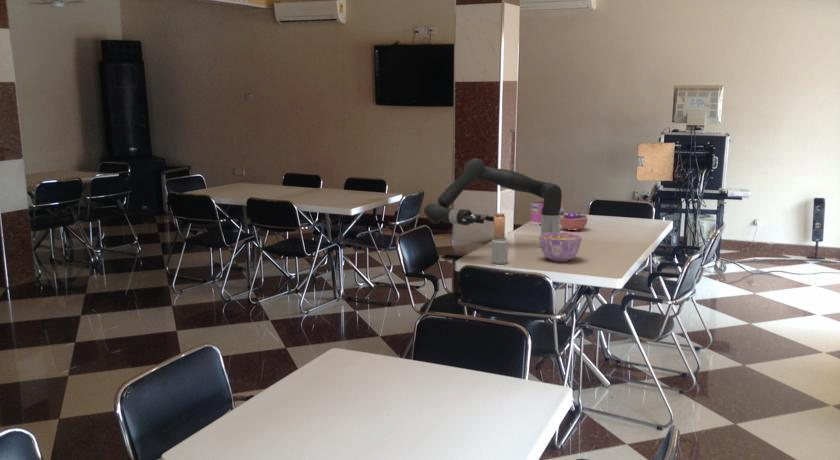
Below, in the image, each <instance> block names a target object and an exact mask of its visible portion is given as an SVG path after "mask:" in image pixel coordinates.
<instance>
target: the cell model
mask: <svg viewBox="0 0 840 460" xmlns="http://www.w3.org/2000/svg"><path fill="white" fill-rule="evenodd" d="M559 219H560V221H559V226H560V227H562V228H563V229H564V228H565V230H567V229H569V230H574V229H580V230H582V229H584V228H585V227H586V226H587V224H588V216H587V215H586V214H581V213H580V212H578V213H575V212H574V211H573V212H572V211H570V212H568V213H567V214H564V215H560V216H559ZM569 230H568V231H569Z"/></svg>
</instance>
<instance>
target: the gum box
mask: <svg viewBox="0 0 840 460" xmlns="http://www.w3.org/2000/svg"><path fill="white" fill-rule="evenodd" d="M565 203H566V202H565V201H561V209H560V214H559V216H560V215H565V206H566V205H565ZM543 204H544V201H537V202H535V201H534V202H531V203H530V220H529V221H530V222H532V221H533V222H538V223H541V211H542V208H543ZM559 220H560V219H559Z"/></svg>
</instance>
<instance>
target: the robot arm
mask: <svg viewBox="0 0 840 460" xmlns="http://www.w3.org/2000/svg"><path fill="white" fill-rule="evenodd" d="M474 180H482V181H486V182H490V183H492V184H494V185H496V186H500V187H503V188H504V189H505V188H506V189H509V190H510V191H511V190H512V191H515V192H520V193H525V194H526V193H527V194H531V195H535V196H536V197H539V198H540V199H543V202H544V204H543V208H542V211H541V225H540V234H543V233H561V229H560V223H559V214H560V209H561V202H562V197H563V195H562V194H563V193H562V189H561V187H560V186H559V185H557V184H555V183H552V182H546V181H540V180H537V179H533V178H532V177H530V176H527V175H525V174H523V173H520V172H517V171H514V170H509V169H504V168H496V167H491V166H487V165H486V164H485V163H484V161H483V159H481V158H474V157H473V158H471V159H469V160H468V161H467V162H465V163H464V165H463V171H462V172H461V174H460V175H459V176H458V177H457V178H456V179H455V180H454V181H453V183H451V184H450V185H449V186H448V187H447V188H446V189H445V190H444V191H443V192H442V193H441V194H440V195H439V197H438V198H437V202H438V203H437V204H436V203H429V204H427V205H426V206H425V207H424V209H423V212H424V215H425V216H426V218H427V219H428V220H429V221H430V222H431V223H432V224H439V223H440V222H441V221H442V222H443V223H447V224H453V225H460V226H470V224H482V225H483V224H484V223H485V222H494V216H490V214H481V213H473V212H472V211H471V210H470V209H465V208H450V206H452V204H453V203H454V202H455V201H456V200H457V198H458V197H459V196H460V195H461V194H462V193H463V192H464V190H465V189H466V188H467V187H468V186H469V185H470V184H471V183H472V182H473V181H474Z"/></svg>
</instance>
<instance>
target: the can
mask: <svg viewBox="0 0 840 460" xmlns="http://www.w3.org/2000/svg"><path fill="white" fill-rule="evenodd" d="M507 239H508V238H507V237H505V238H494V237H492V240H491V262H492V264H495V265H505V264H506V263H508V258H509V257H508V256H509V255H508V253H509V252H508V251H509V241H508V240H507Z"/></svg>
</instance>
